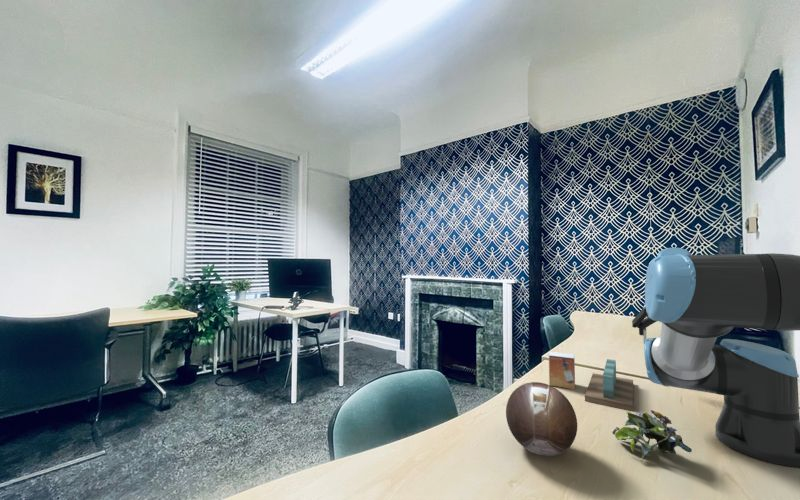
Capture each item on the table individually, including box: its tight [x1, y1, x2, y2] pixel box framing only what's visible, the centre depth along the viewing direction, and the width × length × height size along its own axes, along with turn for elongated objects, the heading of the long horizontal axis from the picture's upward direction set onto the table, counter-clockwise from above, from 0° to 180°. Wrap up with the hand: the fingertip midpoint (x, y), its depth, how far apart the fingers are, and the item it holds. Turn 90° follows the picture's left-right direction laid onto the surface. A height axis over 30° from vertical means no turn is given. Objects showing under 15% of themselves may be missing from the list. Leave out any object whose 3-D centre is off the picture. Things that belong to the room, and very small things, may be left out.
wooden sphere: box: [505, 381, 578, 457], centre depth 74 cm, size 15×15×15 cm
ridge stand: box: [584, 358, 634, 412], centre depth 106 cm, size 24×12×8 cm, turn 144°
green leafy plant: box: [611, 410, 693, 459], centre depth 72 cm, size 11×11×12 cm
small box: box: [548, 351, 576, 390], centre depth 112 cm, size 8×6×10 cm
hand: (670, 344), depth 106 cm, fingers open, 13 cm apart
